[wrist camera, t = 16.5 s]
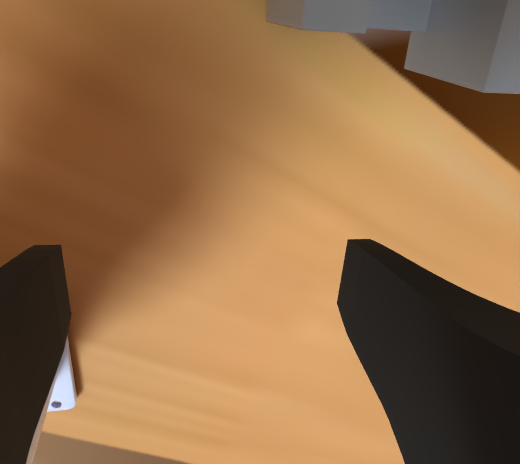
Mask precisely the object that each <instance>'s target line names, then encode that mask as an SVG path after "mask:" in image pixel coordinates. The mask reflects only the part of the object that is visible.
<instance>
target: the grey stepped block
mask: <svg viewBox="0 0 520 464" xmlns="http://www.w3.org/2000/svg"><path fill="white" fill-rule="evenodd" d="M266 21H267V22H271V23H276V24H280V25H284V26H288V27H292V28H296V29H300V30H312V31H329V32H346V33H363V34H365V33H366V28H370V29H387V30H403V31H411V34H410V40H409V45H408V50H407V55H406V61H405V66H404V69H408V70H411V71H414V72H417V73H421V74H424V75H428V76H431V77H434V78H437V79H441V80H444V81H447V82H451V83H454V84H457V85H461V86H464V87H467V88H470V89H474V90H477V91H480V92H486V93H513V94H520V0H268V2H267V19H266Z"/></svg>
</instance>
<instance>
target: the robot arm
mask: <svg viewBox="0 0 520 464" xmlns="http://www.w3.org/2000/svg"><path fill="white" fill-rule="evenodd" d="M337 305H338V308H339V311H340V314H341V318H342V321H343V324H344V327H345V329H346V332H347V335H348V337H349V339H350V341H351V343H352V345H353V347H354V349H355V352H356V354H357V356H358V358H359V360H360V362H361V364H362V366H363V368H364V369H365V371H366V373H367V375H368V377H369V379H370V381H371V383H372V385H373V387H374V389H375V391H376V393H377V395H378V397H379V399H380V401H381V403H382V405H383V408H384V410H385V412H386V414H387V417H388V419H389V421H390V424H391V427H392V429H393V432H394V435H395V437H396V440H397V443H398V446H399V448H400V451H401V454H402V456H403V459H404V462H405V464H520V313H519V312H516V311H513V310H511V309H508V308H506V307H503V306H501V305H498V304H496V303H494V302H491V301H489V300H486V299H484V298H482V297H479V296H477V295H475V294H473V293H471V292H469V291H466V290H464V289H462V288H460V287H458V286H456V285H454V284H452V283H450V282H448V281H446V280H445V279H443V278H441V277H439V276H437V275H435V274H433V273H432V272H430V271H428V270H426V269H424V268H423V267H421V266H419V265H417V264H415V263H414V262H412V261H410V260H408V259H407V258H405V257H403V256H401V255H400V254H398V253H396V252H394V251H393V250H391V249H389V248H387V247H385V246H384V245H382V244H380V243H378V242H375V241H373V240H371V239H350V240H348V241H347V247H346V253H345V259H344V265H343V271H342V277H341V283H340V288H339V294H338V300H337ZM70 318H71V309H70V303H69V296H68V289H67V283H66V276H65V269H64V263H63V256H62V249H61V245H34V246H32V247H30V248H28V249H27V250H25V251H24V252H22V253H21V254H19V255H18V256H16V257H15V258H13V259H12V260H11V261H9V262H8V263H6V264H5V265H3V266H2V267H1V268H0V464H32V461H33V457H34V454H35V450H36V447H37V444H38V440H39V437H40V433H41V430H42V427H43V423H44V420H45V416H46V413H47V411H58V410H68V409H72V408H73V407H74V406H75V405H76V401H77V395H76V388H75V382H74V375H73V368H72V362H71V355H70V349H69V342H68V335H67V334H68V329H69V324H70ZM55 401H59V403H58V402H55Z"/></svg>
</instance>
